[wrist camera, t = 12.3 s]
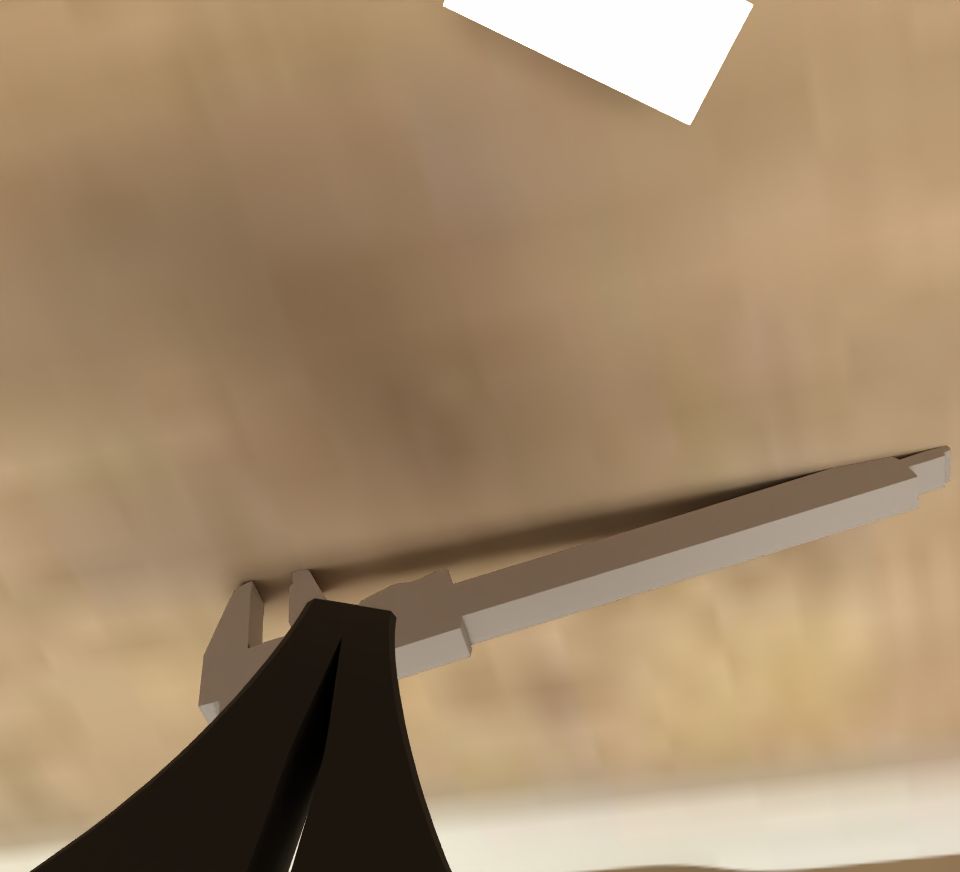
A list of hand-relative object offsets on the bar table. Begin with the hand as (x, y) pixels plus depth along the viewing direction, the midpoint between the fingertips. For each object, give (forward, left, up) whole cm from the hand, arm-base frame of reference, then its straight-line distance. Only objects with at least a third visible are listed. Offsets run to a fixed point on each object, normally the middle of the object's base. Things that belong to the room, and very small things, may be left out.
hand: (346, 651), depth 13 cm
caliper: (+6, -2, -10) cm, 12 cm away
